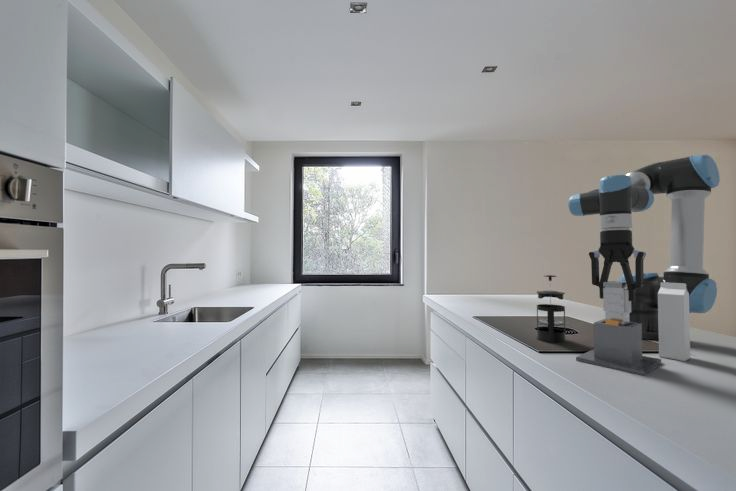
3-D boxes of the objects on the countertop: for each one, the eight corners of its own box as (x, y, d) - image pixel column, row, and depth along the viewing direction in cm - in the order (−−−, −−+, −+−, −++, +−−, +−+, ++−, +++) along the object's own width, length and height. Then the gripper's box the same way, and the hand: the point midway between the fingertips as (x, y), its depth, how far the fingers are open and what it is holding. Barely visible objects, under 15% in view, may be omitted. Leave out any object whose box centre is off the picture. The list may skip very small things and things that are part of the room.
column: (613, 349, 105) (611, 280, 105) (631, 353, 101) (630, 281, 102) (604, 354, 101) (603, 282, 101) (623, 357, 97) (621, 283, 97)
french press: (567, 344, 120) (566, 276, 120) (536, 341, 124) (535, 275, 124) (564, 337, 130) (563, 274, 131) (536, 334, 135) (535, 273, 135)
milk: (685, 361, 101) (683, 284, 101) (658, 356, 106) (657, 282, 106) (690, 357, 105) (689, 282, 105) (664, 352, 109) (663, 281, 110)
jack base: (597, 350, 112) (596, 312, 112) (661, 362, 100) (660, 319, 100) (576, 360, 102) (575, 318, 102) (644, 375, 90) (643, 326, 90)
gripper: (577, 231, 106) (578, 309, 106) (650, 227, 92) (652, 317, 92) (586, 231, 111) (588, 306, 110) (657, 228, 97) (659, 314, 97)
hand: (617, 311), depth 101 cm, fingers closed on column, 4 cm apart
